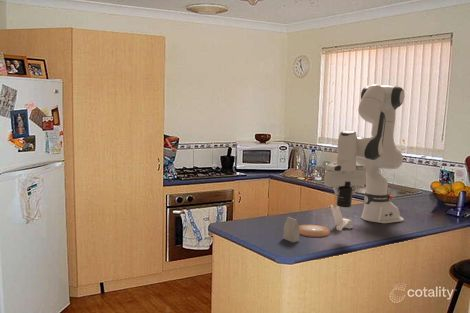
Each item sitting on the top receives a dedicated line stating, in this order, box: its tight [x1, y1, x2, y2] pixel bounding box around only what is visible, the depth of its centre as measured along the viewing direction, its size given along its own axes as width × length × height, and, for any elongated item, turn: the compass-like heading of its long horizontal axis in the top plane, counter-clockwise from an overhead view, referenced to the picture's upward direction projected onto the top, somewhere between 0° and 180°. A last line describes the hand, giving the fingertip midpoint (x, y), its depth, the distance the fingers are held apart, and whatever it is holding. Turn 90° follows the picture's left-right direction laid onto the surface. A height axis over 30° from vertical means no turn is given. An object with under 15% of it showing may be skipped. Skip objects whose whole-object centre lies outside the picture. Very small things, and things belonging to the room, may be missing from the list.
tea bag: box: [283, 216, 301, 243], centre depth 226 cm, size 4×7×10 cm, turn 33°
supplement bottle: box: [336, 182, 353, 208], centre depth 232 cm, size 7×7×12 cm
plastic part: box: [330, 204, 354, 232], centre depth 249 cm, size 8×10×12 cm
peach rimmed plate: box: [299, 224, 331, 238], centre depth 240 cm, size 16×16×2 cm
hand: (344, 195), depth 232 cm, fingers closed on supplement bottle, 7 cm apart
